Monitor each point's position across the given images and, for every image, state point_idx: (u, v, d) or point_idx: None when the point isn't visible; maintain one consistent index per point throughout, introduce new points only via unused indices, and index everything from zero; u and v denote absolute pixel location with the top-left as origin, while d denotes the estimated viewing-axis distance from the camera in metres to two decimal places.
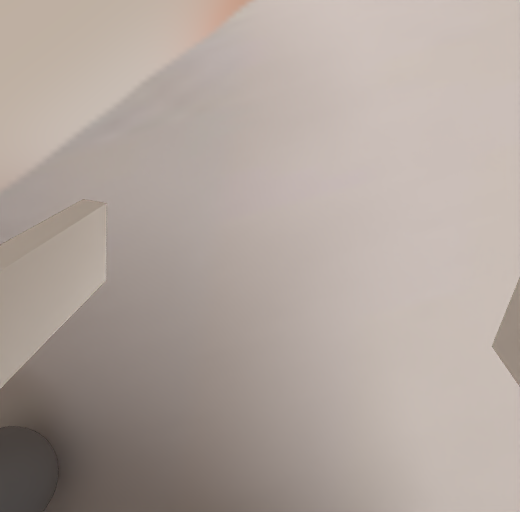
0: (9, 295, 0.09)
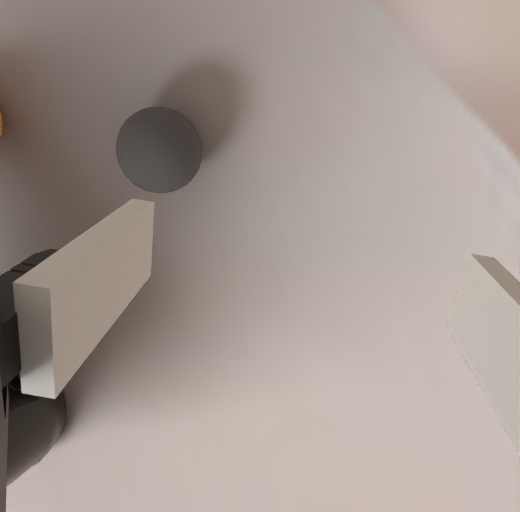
0: (85, 286, 0.10)
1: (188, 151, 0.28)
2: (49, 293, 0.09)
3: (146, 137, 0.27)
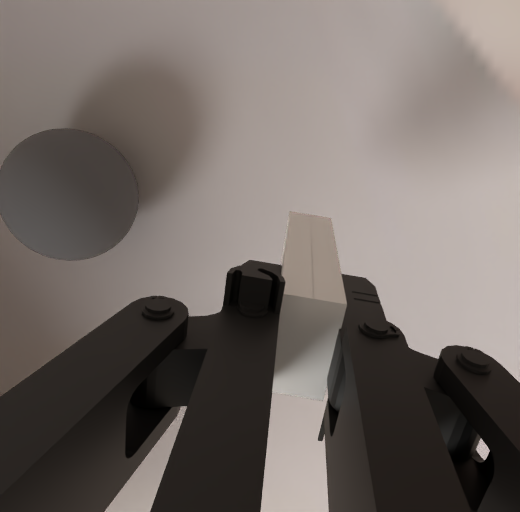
0: None
1: (109, 200, 0.17)
2: (309, 302, 0.10)
3: (35, 181, 0.16)
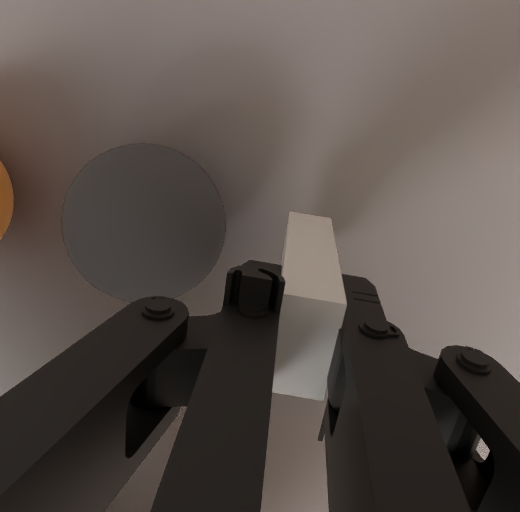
0: None
1: None
2: (309, 302, 0.10)
3: None
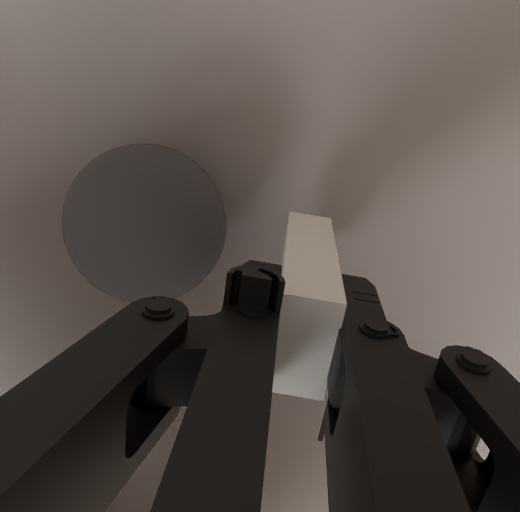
0: None
1: None
2: (309, 302, 0.10)
3: None
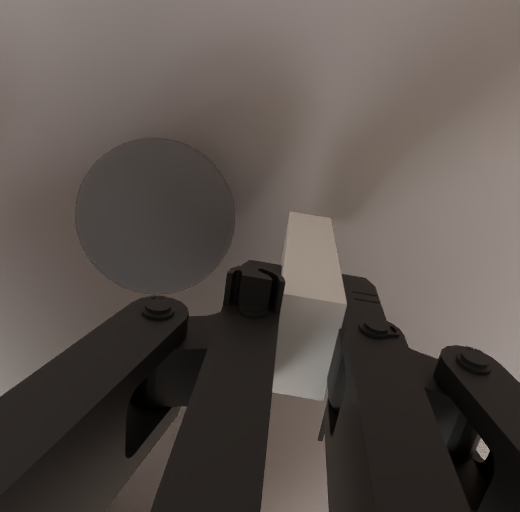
0: None
1: None
2: (309, 302, 0.10)
3: None
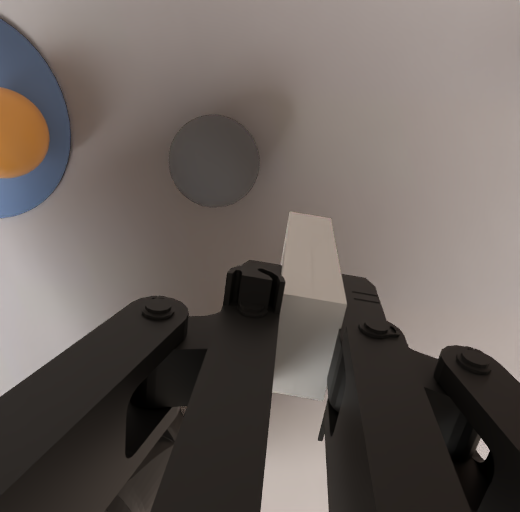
0: None
1: None
2: (309, 302, 0.10)
3: None
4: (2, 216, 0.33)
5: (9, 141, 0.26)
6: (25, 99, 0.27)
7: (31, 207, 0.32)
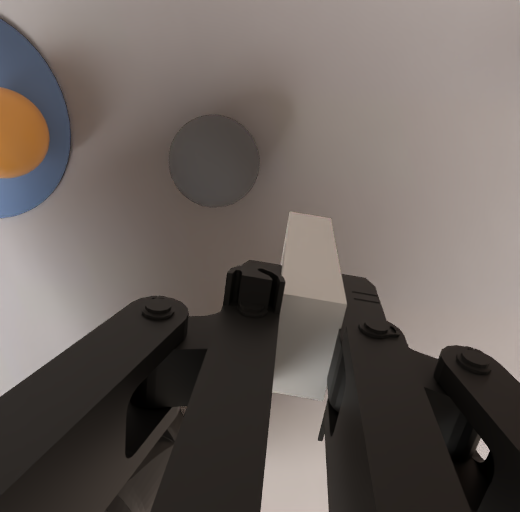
0: None
1: None
2: (309, 302, 0.10)
3: None
4: (2, 216, 0.33)
5: (9, 141, 0.26)
6: (25, 99, 0.27)
7: (31, 207, 0.32)
